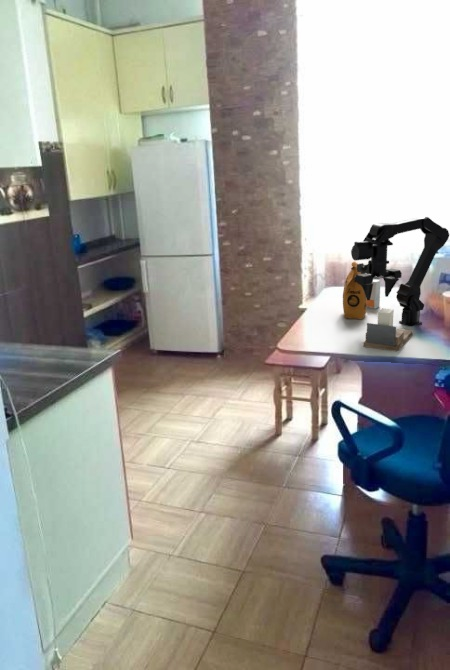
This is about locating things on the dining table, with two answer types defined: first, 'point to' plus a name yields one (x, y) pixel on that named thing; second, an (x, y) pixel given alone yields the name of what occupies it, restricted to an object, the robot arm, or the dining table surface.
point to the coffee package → (353, 296)
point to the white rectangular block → (385, 317)
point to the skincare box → (374, 295)
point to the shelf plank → (406, 336)
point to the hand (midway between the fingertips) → (377, 298)
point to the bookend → (381, 334)
